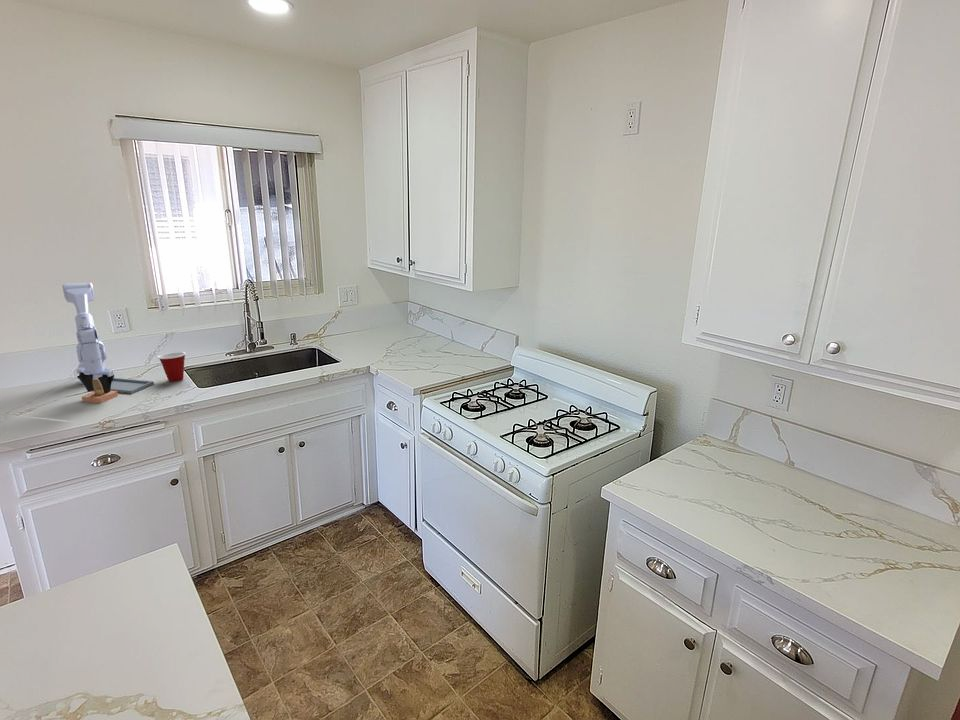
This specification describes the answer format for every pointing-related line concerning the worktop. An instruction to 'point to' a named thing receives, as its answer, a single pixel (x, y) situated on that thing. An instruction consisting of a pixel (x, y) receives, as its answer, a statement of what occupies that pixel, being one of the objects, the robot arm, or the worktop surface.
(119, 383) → the tray
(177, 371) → the plastic cup
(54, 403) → the worktop surface
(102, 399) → the orange square hole block
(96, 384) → the dowel pin
